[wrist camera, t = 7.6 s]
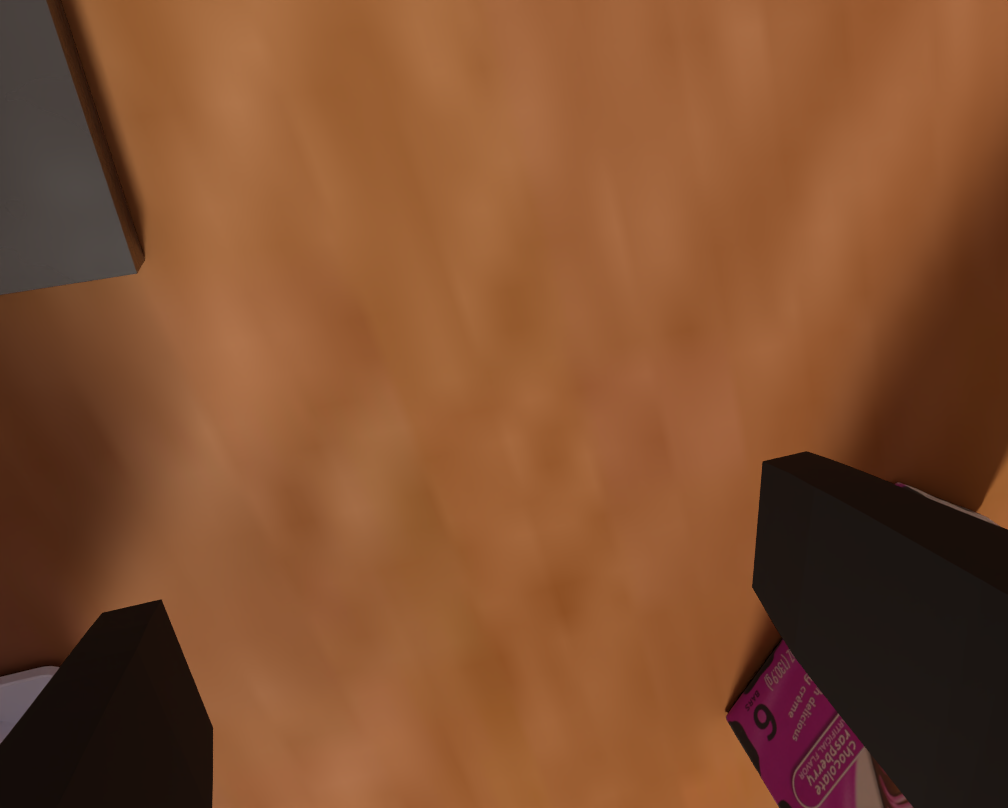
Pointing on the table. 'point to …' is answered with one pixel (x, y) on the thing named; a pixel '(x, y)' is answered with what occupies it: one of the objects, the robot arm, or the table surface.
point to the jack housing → (54, 161)
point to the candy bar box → (809, 736)
